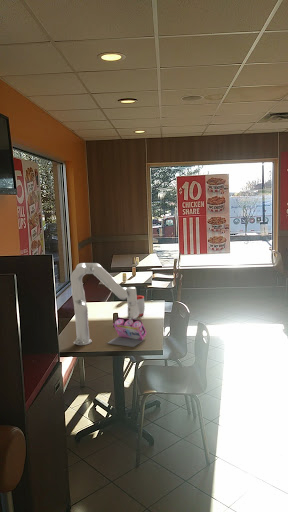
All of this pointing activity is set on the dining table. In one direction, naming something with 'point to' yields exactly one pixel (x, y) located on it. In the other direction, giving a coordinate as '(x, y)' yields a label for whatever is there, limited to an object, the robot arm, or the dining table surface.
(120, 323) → the gum box
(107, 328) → the dining table surface
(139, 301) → the white red bucket
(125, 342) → the mat
